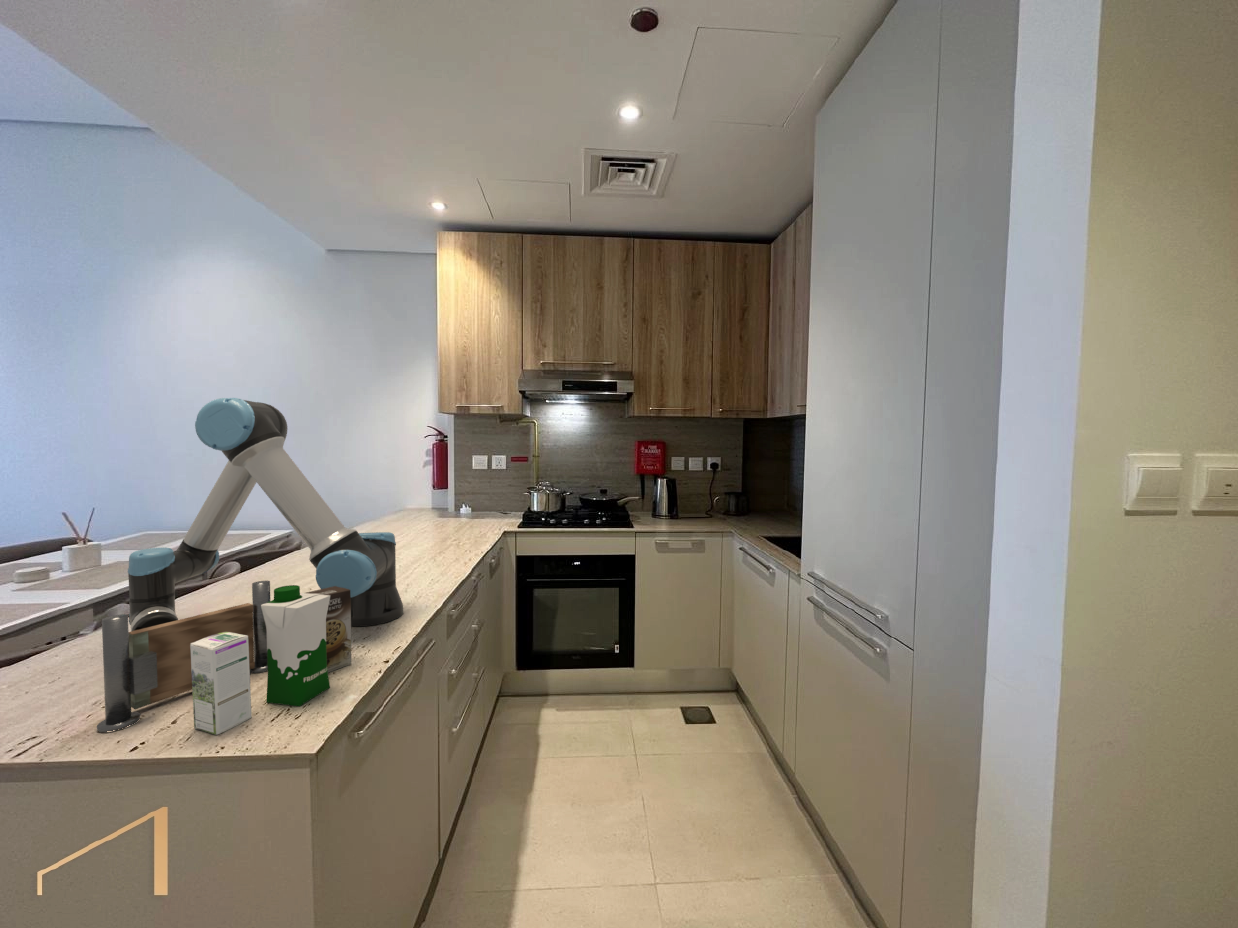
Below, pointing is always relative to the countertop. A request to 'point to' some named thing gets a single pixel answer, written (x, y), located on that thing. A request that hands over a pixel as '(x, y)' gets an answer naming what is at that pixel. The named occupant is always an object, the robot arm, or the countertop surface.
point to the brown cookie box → (337, 627)
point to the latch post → (123, 674)
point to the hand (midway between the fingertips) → (164, 662)
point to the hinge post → (260, 625)
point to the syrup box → (220, 682)
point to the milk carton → (296, 645)
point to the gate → (185, 648)
